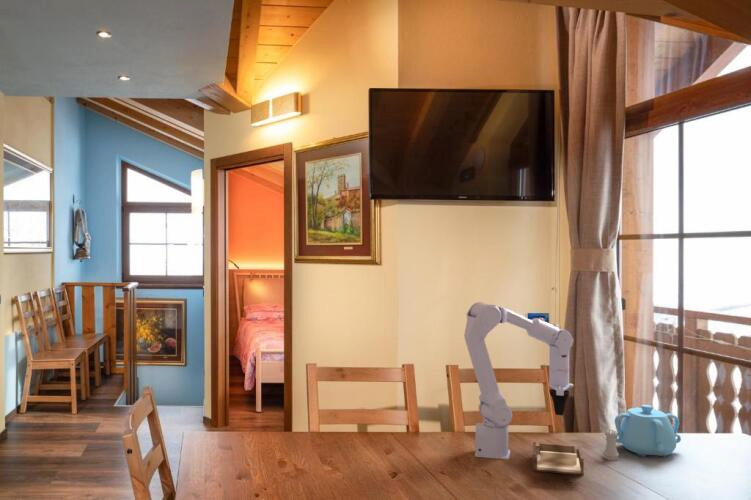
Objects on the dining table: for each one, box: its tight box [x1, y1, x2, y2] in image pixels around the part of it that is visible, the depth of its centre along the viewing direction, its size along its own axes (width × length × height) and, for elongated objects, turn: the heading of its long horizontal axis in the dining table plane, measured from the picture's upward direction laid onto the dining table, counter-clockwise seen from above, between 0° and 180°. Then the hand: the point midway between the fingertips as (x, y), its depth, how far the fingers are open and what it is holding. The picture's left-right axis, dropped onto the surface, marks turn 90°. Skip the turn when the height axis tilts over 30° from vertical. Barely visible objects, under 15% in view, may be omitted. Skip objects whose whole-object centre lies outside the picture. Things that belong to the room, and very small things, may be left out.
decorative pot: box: [614, 404, 682, 458], centre depth 183 cm, size 16×16×14 cm
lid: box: [537, 451, 581, 473], centre depth 161 cm, size 11×10×3 cm
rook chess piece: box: [602, 429, 620, 461], centre depth 176 cm, size 4×4×8 cm
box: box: [532, 441, 585, 476], centre depth 169 cm, size 13×11×5 cm
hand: (559, 414), depth 185 cm, fingers closed
